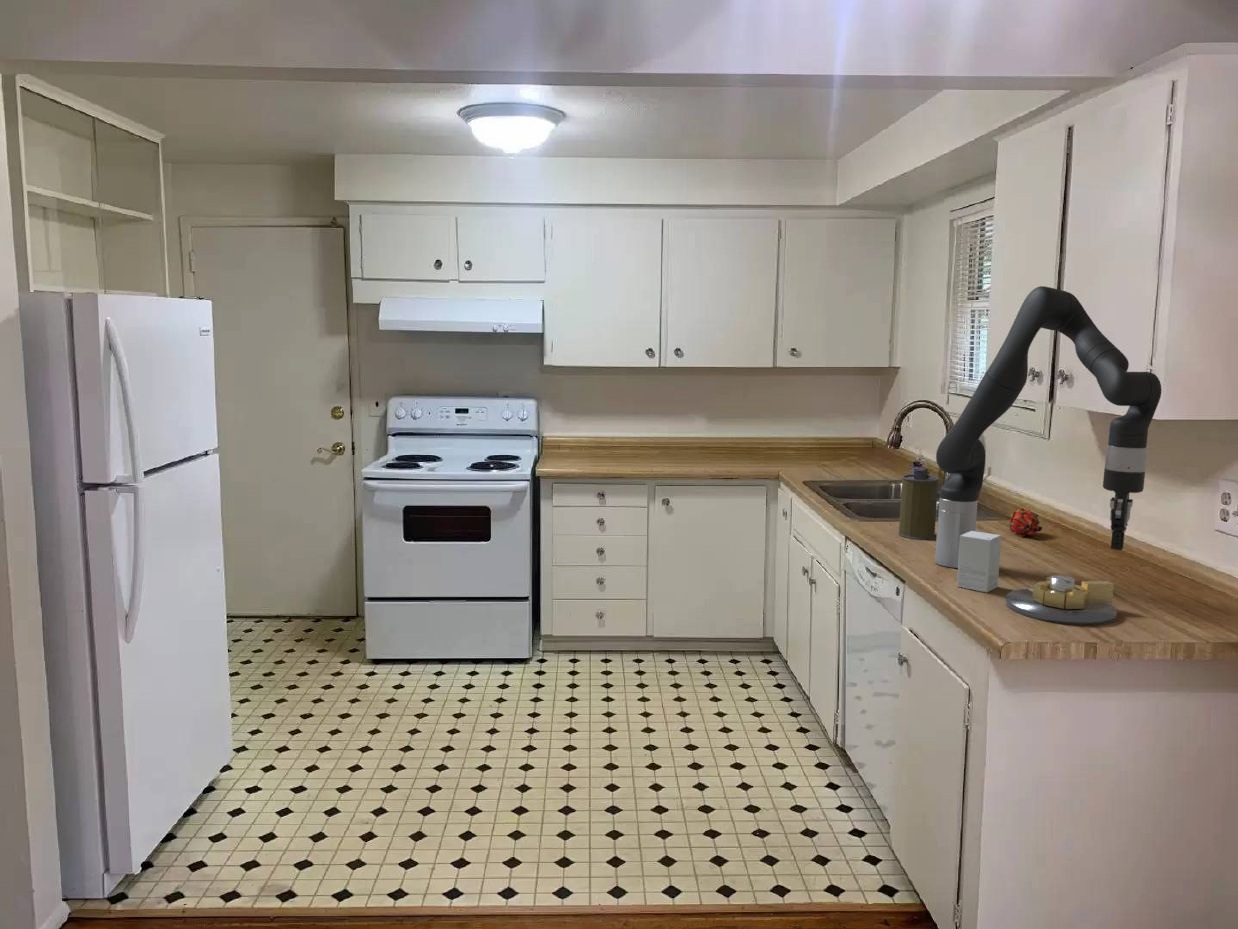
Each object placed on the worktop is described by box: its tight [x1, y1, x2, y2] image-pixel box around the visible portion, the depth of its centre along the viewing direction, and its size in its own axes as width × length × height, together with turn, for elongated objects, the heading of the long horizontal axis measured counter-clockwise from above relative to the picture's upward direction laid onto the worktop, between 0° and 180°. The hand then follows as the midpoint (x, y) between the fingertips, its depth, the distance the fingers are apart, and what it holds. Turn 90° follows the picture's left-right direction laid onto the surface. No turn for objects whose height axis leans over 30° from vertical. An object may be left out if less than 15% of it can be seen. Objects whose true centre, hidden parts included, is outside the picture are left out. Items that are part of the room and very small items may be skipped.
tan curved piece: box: [1032, 576, 1115, 609], centre depth 205 cm, size 16×11×4 cm, turn 95°
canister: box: [897, 467, 940, 540], centre depth 274 cm, size 11×10×20 cm
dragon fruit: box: [1008, 508, 1043, 538], centre depth 278 cm, size 8×8×12 cm
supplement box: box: [956, 530, 1002, 593], centre depth 221 cm, size 7×7×13 cm
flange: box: [1005, 575, 1118, 626], centre depth 204 cm, size 22×22×7 cm
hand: (1116, 549), depth 197 cm, fingers closed
